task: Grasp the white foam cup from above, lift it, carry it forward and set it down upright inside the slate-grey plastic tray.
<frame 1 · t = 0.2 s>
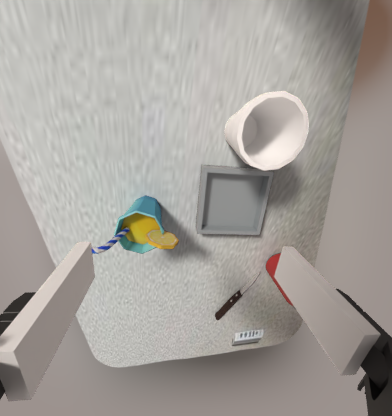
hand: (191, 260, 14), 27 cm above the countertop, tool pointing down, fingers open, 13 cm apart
beer can: (277, 262, 50), on the countertop
kitchen knife: (236, 291, 53), on the countertop
tray: (229, 199, 42), on the countertop
cup: (142, 207, 41), on the countertop
foam cup: (240, 131, 37), on the countertop
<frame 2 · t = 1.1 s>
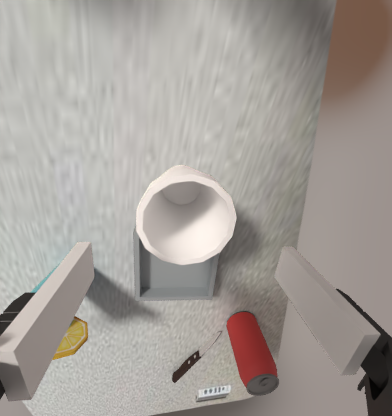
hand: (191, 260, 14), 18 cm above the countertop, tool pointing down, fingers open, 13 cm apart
beer can: (240, 319, 44), on the countertop
kitchen knife: (195, 350, 47), on the countertop
tray: (176, 258, 35), on the countertop
cup: (70, 269, 34), on the countertop
foam cup: (181, 185, 31), on the countertop
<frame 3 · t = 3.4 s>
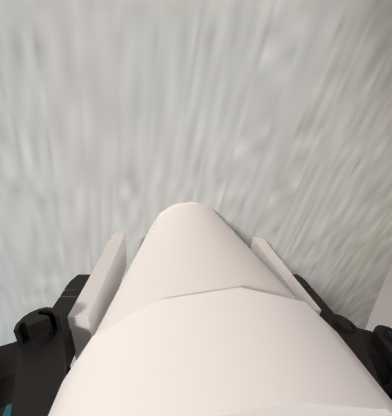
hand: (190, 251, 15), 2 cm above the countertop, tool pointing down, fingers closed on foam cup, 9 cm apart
foam cup: (188, 235, 17), on the countertop, touching gripper
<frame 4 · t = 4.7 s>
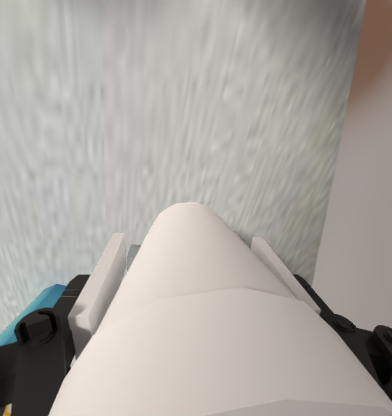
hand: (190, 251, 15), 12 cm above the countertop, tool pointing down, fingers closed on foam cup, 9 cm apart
cup: (55, 297, 30), on the countertop
foam cup: (187, 235, 17), point 10 cm above the countertop, touching gripper
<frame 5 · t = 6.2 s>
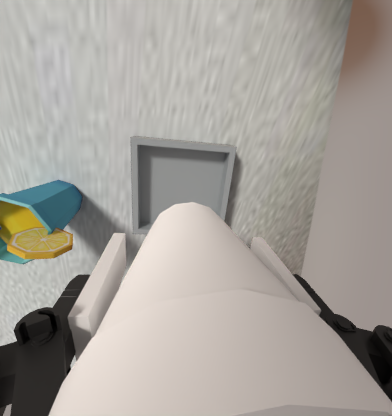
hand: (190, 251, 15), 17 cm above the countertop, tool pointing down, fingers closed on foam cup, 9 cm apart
tray: (181, 186, 31), on the countertop
cup: (57, 197, 29), on the countertop
foam cup: (188, 236, 17), point 15 cm above the countertop, touching gripper
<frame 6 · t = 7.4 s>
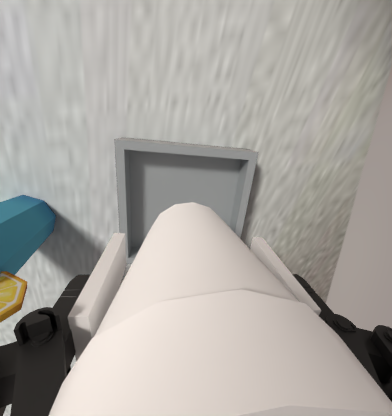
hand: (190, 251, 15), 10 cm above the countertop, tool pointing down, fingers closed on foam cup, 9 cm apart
tray: (183, 202, 24), on the countertop
cup: (23, 216, 23), on the countertop
foam cup: (188, 236, 17), point 8 cm above the countertop, touching gripper
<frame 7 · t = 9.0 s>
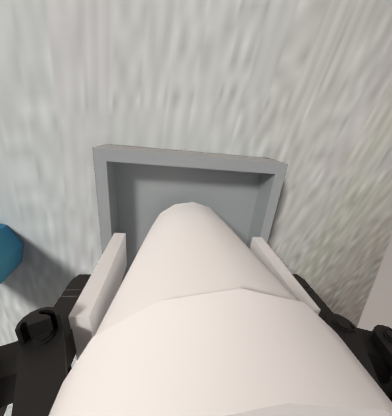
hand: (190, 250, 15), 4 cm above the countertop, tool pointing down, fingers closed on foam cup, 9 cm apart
tray: (186, 224, 19), on the countertop
foam cup: (188, 235, 17), point 2 cm above the countertop, touching gripper
when the fingers open (4 cm above the countertop, at t = 9.3 s): foam cup drops 2 cm, resting on tray.
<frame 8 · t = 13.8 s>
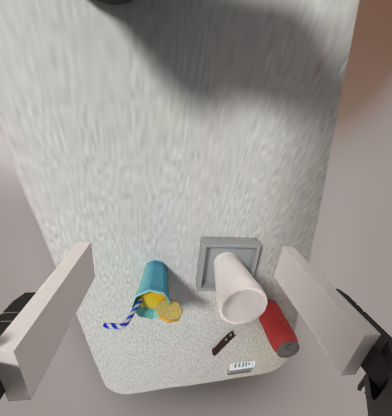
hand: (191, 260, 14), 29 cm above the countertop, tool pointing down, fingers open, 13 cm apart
beer can: (266, 307, 58), on the countertop
kitchen knife: (230, 331, 61), on the countertop
tray: (225, 260, 50), on the countertop
cup: (151, 269, 49), on the countertop
foam cup: (225, 262, 49), point 1 cm above the countertop, touching tray
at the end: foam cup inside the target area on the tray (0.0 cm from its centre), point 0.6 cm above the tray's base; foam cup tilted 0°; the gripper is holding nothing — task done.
